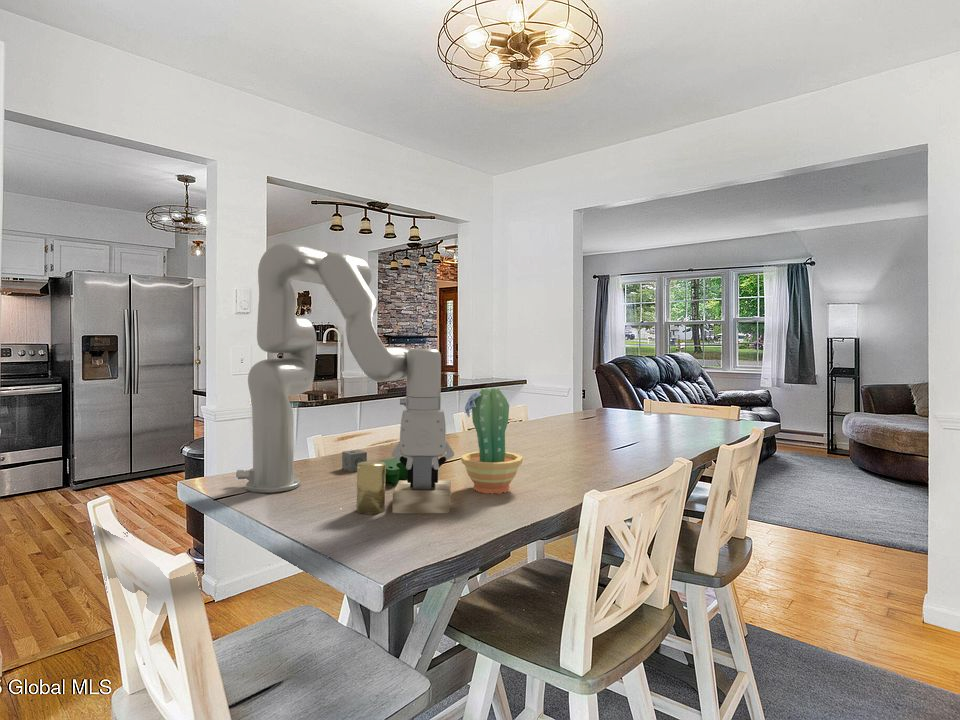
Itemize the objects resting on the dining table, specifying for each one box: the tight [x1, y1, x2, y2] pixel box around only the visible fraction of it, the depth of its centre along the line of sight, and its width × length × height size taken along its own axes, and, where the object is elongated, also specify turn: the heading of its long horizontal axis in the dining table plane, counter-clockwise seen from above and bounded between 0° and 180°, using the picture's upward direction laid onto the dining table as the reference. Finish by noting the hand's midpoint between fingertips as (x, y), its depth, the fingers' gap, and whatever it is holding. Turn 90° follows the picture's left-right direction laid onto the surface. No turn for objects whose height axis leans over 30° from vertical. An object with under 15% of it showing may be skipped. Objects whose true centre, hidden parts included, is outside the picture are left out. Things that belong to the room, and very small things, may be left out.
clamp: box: [378, 456, 408, 486], centre depth 149 cm, size 12×6×9 cm, turn 126°
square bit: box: [413, 457, 433, 490], centre depth 128 cm, size 4×4×10 cm
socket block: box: [392, 479, 452, 514], centre depth 128 cm, size 12×12×4 cm
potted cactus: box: [460, 387, 524, 495], centre depth 142 cm, size 15×15×25 cm
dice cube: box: [341, 449, 368, 473], centre depth 162 cm, size 5×5×5 cm
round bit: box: [355, 460, 386, 515], centre depth 124 cm, size 6×6×10 cm
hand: (422, 485), depth 128 cm, fingers closed on square bit, 4 cm apart
